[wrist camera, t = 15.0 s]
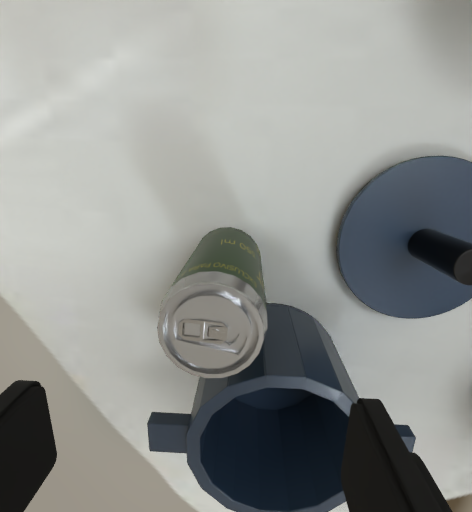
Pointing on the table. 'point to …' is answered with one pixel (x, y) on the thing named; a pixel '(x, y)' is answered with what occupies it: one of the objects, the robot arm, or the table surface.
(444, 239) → the lid
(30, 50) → the table surface
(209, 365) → the beer can
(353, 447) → the robot arm
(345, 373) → the pot
